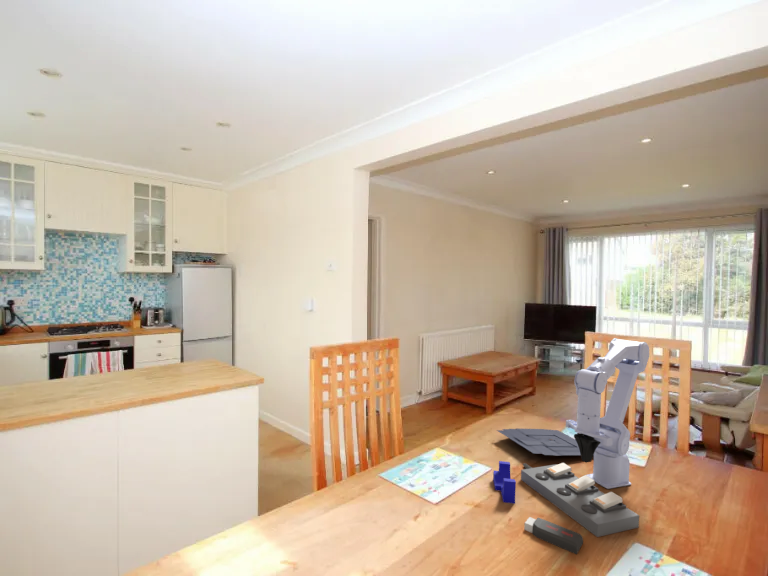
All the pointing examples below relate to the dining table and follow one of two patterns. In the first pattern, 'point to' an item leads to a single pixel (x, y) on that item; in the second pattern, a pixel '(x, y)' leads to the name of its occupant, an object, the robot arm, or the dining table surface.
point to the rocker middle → (582, 483)
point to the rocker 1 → (559, 469)
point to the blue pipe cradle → (505, 482)
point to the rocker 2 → (607, 500)
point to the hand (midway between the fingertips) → (586, 461)
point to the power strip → (579, 502)
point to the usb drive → (554, 534)
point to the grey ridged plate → (543, 441)
